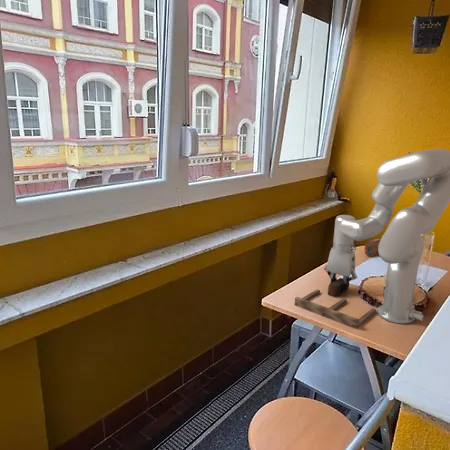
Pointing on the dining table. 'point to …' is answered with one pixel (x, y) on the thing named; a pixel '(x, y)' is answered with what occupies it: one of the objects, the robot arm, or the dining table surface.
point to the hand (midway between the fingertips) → (338, 289)
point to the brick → (336, 287)
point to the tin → (372, 248)
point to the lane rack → (332, 310)
